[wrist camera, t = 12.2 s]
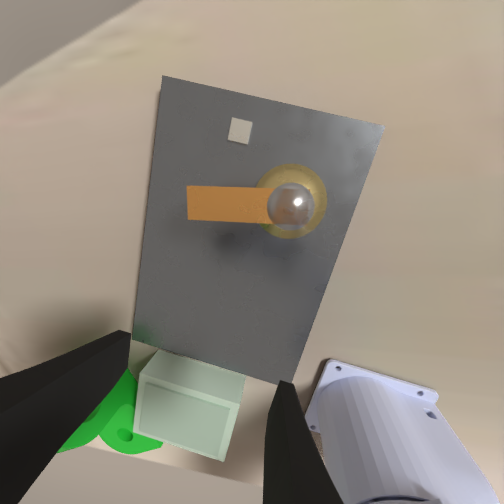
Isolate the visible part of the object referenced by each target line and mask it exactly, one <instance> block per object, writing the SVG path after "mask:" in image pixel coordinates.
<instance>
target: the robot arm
mask: <svg viewBox="0 0 504 504" xmlns="http://www.w3.org/2000/svg"><path fill="white" fill-rule="evenodd" d="M130 340H131V333H128V332H125V331H121V330H118V331H115V332H113V333H111V334H108V335H106V336H104V337H102V338H100V339H97V340H95V341H93V342H91V343H89V344H86V345H84V346H82V347H80V348H77V349H75V350H73V351H70V352H68V353H66V354H63V355H61V356H58V357H56V358H54V359H51V360H49V361H46V362H44V363H41V364H39V365H36V366H34V367H31V368H28V369H25V370H23V371H20V372H17V373H14V374H11V375H8V376H5V377H2V378H0V504H18V503H19V502H20V500H21V499H22V497H23V496H24V495H25V493H26V492H27V491H28V489H29V488H30V486H31V485H32V484H33V483H34V481H35V480H36V479H37V477H38V476H39V475H40V474H41V472H42V471H43V470H44V468H45V467H46V466H47V465H48V463H49V462H50V461H51V459H52V458H53V457H54V455H55V454H56V453H57V452H58V450H59V449H60V448H61V447H62V446H63V445H64V443H65V442H66V441H67V440H68V439H69V438H70V436H71V435H72V434H73V433H74V432H75V431H76V430H77V429H78V427H79V426H80V425H81V424H82V423H83V422H84V421H85V420H86V419H87V417H88V416H89V415H90V414H91V413H92V412H93V411H94V410H95V408H96V407H97V406H98V405H99V404H100V403H101V402H102V401H103V399H104V398H105V397H106V396H107V395H108V394H109V393H110V391H111V390H112V389H113V388H114V386H115V385H116V384H117V382H118V381H119V380H120V378H121V377H122V375H123V374H124V372H125V371H126V369H127V366H128V358H129V349H130ZM337 366H340V367H339V368H336V367H337ZM418 391H420V392H418ZM438 397H439V396H438V394H437V393H436V391H435V390H433V389H430V388H427V387H423V386H420V385H417V384H413V383H410V382H407V381H403V380H400V379H397V378H393V377H390V376H387V375H383V374H380V373H377V372H373V371H370V370H367V369H363V368H360V367H357V366H353V365H350V364H347V363H343V362H340V361H337V360H333V359H330V360H328V361H327V362H326V364H325V367H324V369H323V372H322V374H321V377H320V379H319V382H318V384H317V387H316V389H315V391H314V394H313V396H312V399H311V401H310V404H309V406H308V409H307V411H306V414H305V416H304V414H303V411H302V408H301V405H300V402H299V399H298V396H297V393H296V389H295V386H294V384H292V383H288V382H285V381H282V380H280V381H279V384H278V387H277V390H276V393H275V396H274V399H273V401H272V404H271V407H270V410H269V413H268V419H267V427H266V435H265V451H264V482H263V504H500V502H499V500H498V498H497V496H496V494H495V492H494V490H493V488H492V486H491V484H490V483H489V481H488V480H487V478H486V477H485V475H484V474H483V472H482V471H481V469H480V468H479V467H478V465H477V464H476V462H475V461H474V459H473V458H472V457H471V455H470V454H469V452H468V451H467V449H466V448H465V447H464V445H463V444H462V442H461V441H460V439H459V438H458V437H457V435H456V434H455V432H454V431H453V429H452V428H451V427H450V425H449V424H448V422H447V421H446V420H445V418H444V417H443V415H442V414H441V412H440V411H439V410H438V408H437V407H436V405H435V403H436V401H437V400H438ZM313 425H314V426H313ZM310 430H311V431H314V432H317V433H320V435H321V441H322V448H323V455H324V462H325V465H324V463H323V460H322V458H321V456H320V454H319V451H318V449H317V447H316V444H315V442H314V440H313V437H312V435H311V432H310Z"/></svg>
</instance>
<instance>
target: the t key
mask: <svg viewBox="0 0 504 504" xmlns="http://www.w3.org/2000/svg"><path fill="white" fill-rule="evenodd" d="M314 208H315V203H314V198H313V196H312V194H311V192H310V189H307V188H306V187H305V186H303V185H301V184H298V183H285V184H282V185H280V186H278V187H277V188H249V187H218V186H187V210H188V220H205V221H225V222H245V223H265V224H274V225H276V226H277V227H279V228H281V229H283V230H297V229H299V228H302V227H303V226H307V223H308V222H309V221H310V219H311V218H312V216H313V213H314Z"/></svg>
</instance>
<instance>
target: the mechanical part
mask: <svg viewBox="0 0 504 504" xmlns="http://www.w3.org/2000/svg"><path fill="white" fill-rule="evenodd" d="M137 391H138V383H137V381H136V380H135V378H134V377H133V375H132V374H131V372H130V371H129V369H128V368H127V369H126V371H125V372H124V374H123V375H122V377H121V378H120V380H119V381H118V382H117V384H116V385H115V386H114V388H113V389H112V390H111V391H110V393H109V394H108V395H107V396H106V397H105V398H104V399H103V401H102V402H101V403H100V404H99V405H98V406H97V407H96V408H95V410H94V411H93V412H92V413H91V414H90V415H89V416H88V417H87V419H86V420H85V421H84V422H83V423H82V424H81V425H80V426H79V427H78V429H77V430H76V431H75V432H74V433H73V434H72V435H71V436H70V438H69V439H68V440H67V441H66V442H65V443H64V445H63V446H62V447H61V448H60V449H59V450H58V452H57V453H60V452H64V451H67V450H70V449H74V448H76V447H80V446H83V445H85V444H87V443H89V442H90V441H92V440H93V439H94V438H95V437H97V436H98V435H99V436H100V437H101V438H102V440H103V441H104V442H105V443H106V444H107V445H109V446H110V447H111V448H113V449H114V450H116V451H119V452H121V453H125V454H138V453H142V452H146V451H149V450H153V449H157V448H160V447H161V446H162V444H163V442H161V441H158V440H155V439H152V438H149V437H146V436H143V435H140V434H137V433H134V432H133V426H134V417H135V409H136V400H137Z"/></svg>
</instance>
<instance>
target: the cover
mask: <svg viewBox="0 0 504 504" xmlns="http://www.w3.org/2000/svg"><path fill="white" fill-rule="evenodd" d="M245 379H246V376H245V375H241V374H238V373H235V372H232V371H228V370H225V369H222V368H218V367H215V366H212V365H208V364H205V363H202V362H198V361H195V360H192V359H188V358H185V357H182V356H178V355H175V354H172V353H169V352H165V351H162V350H158V351H157V352H156V353H155V355H154V356H153V357H152V358H151V360H150V361H149V362H148V363H147V365H146V366H145V367H144V368H143V370H142V371H141V372H140V374H139V383H138V391H137V400H136V409H135V417H134V426H133V432H134V433H137V434H140V435H143V436H146V437H149V438H152V439H155V440H158V441H161V442H164V443H167V444H170V445H173V446H176V447H179V448H182V449H185V450H188V451H191V452H194V453H197V454H200V455H203V456H206V457H209V458H212V459H215V460H218V461H221V462H224V461H225V457H226V453H227V450H228V446H229V443H230V439H231V435H232V432H233V428H234V425H235V421H236V417H237V414H238V410H239V406H240V402H241V398H242V393H243V388H244V384H245Z"/></svg>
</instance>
